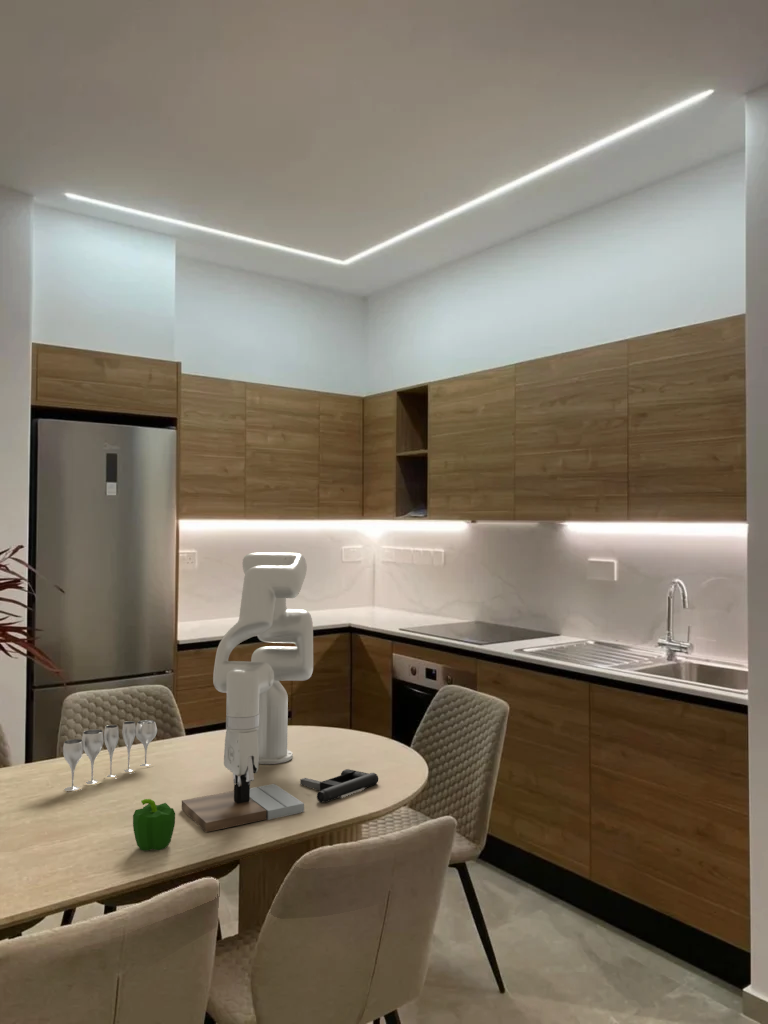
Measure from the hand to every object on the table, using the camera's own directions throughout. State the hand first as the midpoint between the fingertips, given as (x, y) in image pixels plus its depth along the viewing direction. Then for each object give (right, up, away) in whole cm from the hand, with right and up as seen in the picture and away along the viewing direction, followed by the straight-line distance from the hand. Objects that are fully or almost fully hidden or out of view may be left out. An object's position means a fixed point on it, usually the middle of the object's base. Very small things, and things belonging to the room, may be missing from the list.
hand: (241, 801), depth 180 cm
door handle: (+20, -3, +17) cm, 27 cm away
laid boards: (+6, -2, +4) cm, 8 cm away
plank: (-4, -2, -2) cm, 5 cm away
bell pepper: (-14, -2, -20) cm, 25 cm away
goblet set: (-38, -3, +24) cm, 45 cm away
